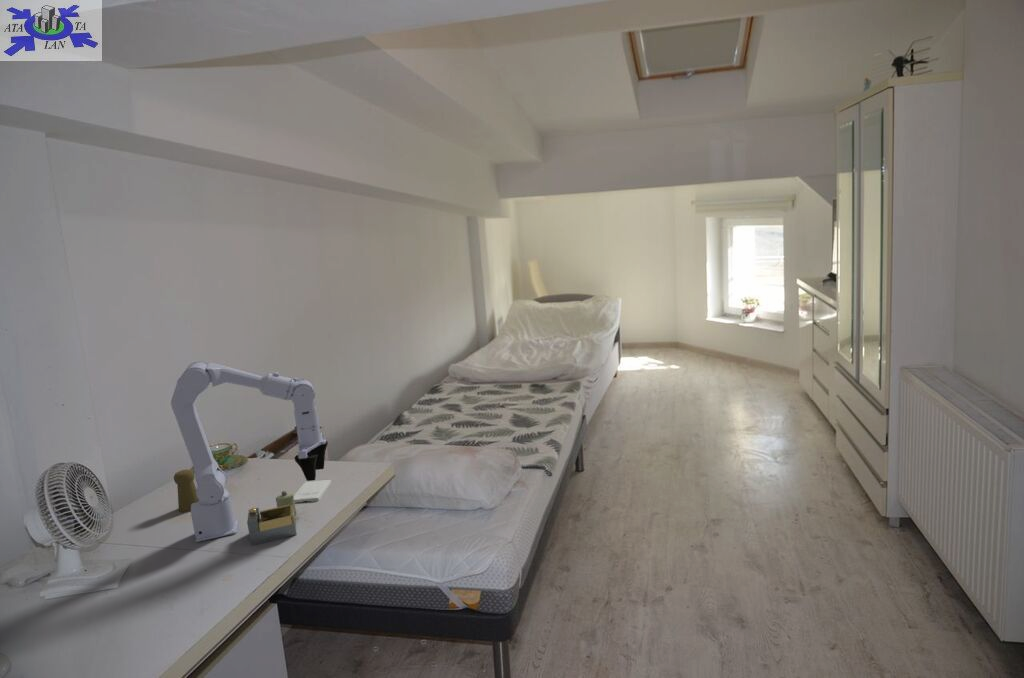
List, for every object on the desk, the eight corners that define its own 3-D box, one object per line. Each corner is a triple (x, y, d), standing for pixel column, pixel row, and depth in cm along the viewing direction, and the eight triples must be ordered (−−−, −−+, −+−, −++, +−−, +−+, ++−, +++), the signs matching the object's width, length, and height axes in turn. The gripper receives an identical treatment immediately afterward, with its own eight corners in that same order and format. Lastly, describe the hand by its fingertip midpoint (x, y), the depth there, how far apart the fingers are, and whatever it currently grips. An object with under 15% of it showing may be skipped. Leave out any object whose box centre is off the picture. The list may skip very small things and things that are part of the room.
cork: (206, 502, 189) (199, 466, 187) (194, 511, 183) (186, 474, 181) (186, 503, 189) (179, 467, 187) (174, 512, 183) (166, 476, 181)
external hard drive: (331, 484, 194) (319, 502, 181) (304, 487, 194) (290, 505, 182) (331, 479, 193) (318, 497, 181) (303, 482, 194) (289, 499, 181)
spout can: (279, 521, 171) (274, 498, 170) (279, 514, 175) (275, 492, 174) (296, 517, 172) (292, 494, 171) (296, 511, 176) (292, 488, 175)
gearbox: (251, 545, 159) (246, 519, 157) (253, 531, 166) (248, 506, 165) (296, 534, 162) (291, 509, 161) (295, 521, 169) (291, 497, 168)
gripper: (314, 433, 165) (322, 484, 167) (330, 416, 179) (337, 463, 181) (286, 435, 165) (295, 486, 167) (305, 418, 179) (312, 465, 181)
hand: (315, 474), depth 174 cm, fingers open, 7 cm apart
